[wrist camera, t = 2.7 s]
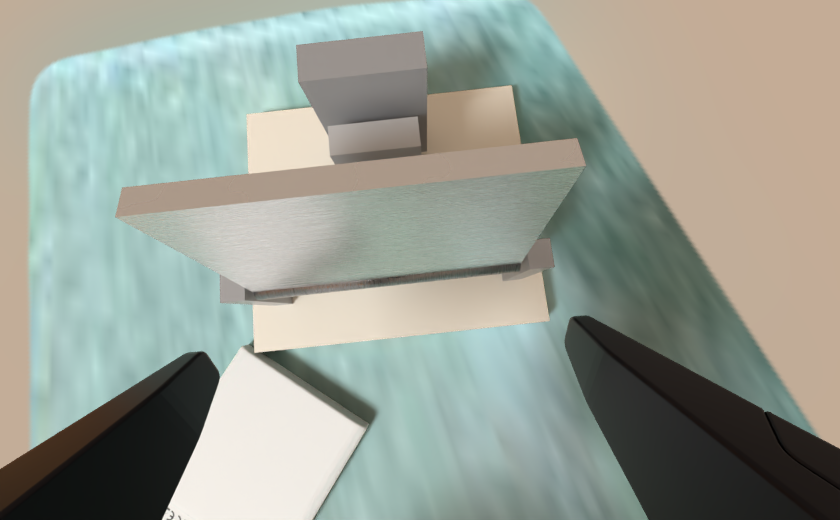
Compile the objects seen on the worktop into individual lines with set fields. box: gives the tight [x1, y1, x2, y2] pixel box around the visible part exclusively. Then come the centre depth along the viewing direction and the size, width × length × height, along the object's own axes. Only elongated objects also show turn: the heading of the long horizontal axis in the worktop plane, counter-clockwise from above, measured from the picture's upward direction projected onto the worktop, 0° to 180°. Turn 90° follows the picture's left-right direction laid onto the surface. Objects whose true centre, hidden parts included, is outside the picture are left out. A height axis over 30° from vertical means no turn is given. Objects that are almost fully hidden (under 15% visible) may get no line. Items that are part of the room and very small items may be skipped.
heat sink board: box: [220, 31, 555, 353], centre depth 17 cm, size 14×16×8 cm
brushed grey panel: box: [115, 138, 586, 300], centre depth 12 cm, size 1×11×8 cm, turn 97°
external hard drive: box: [162, 345, 369, 520], centre depth 19 cm, size 2×8×12 cm
